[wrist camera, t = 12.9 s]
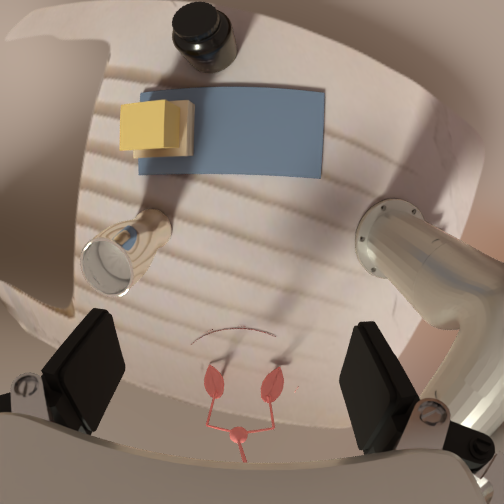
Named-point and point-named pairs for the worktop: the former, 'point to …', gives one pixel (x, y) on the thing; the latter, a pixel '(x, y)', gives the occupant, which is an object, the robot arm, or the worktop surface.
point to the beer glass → (124, 252)
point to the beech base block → (184, 135)
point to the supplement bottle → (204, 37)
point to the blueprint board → (247, 132)
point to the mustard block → (149, 125)
